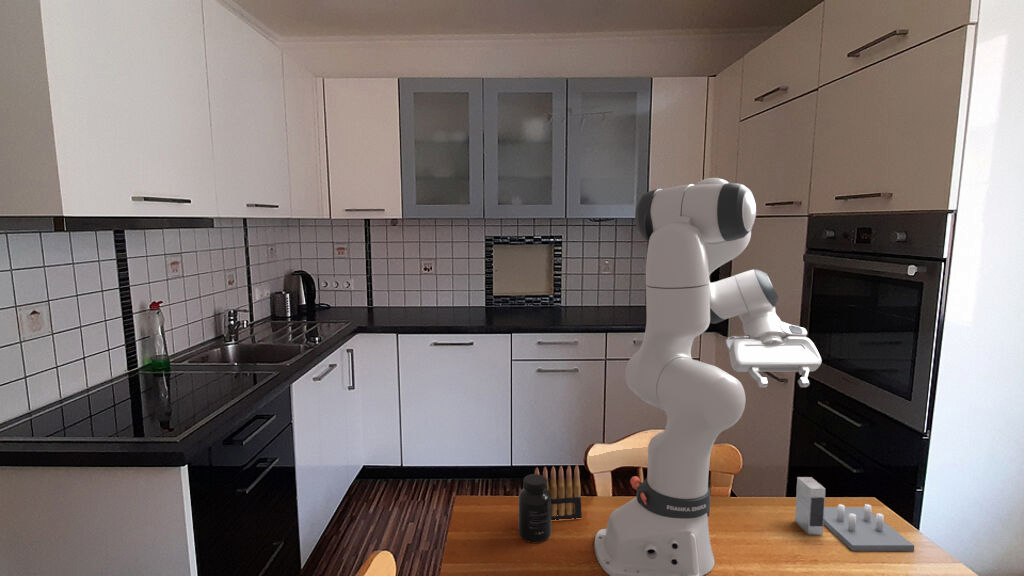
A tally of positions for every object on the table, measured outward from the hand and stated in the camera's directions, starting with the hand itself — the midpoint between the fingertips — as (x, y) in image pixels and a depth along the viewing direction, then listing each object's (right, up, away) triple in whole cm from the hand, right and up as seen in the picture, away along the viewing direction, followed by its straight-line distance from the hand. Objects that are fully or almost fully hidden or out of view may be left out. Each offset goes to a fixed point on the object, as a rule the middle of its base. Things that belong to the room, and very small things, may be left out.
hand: (784, 386), depth 117 cm
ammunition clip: (-53, -28, -6) cm, 60 cm away
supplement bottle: (-58, -29, -11) cm, 66 cm away
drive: (0, -28, -9) cm, 30 cm away
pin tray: (+10, -28, -11) cm, 32 cm away
